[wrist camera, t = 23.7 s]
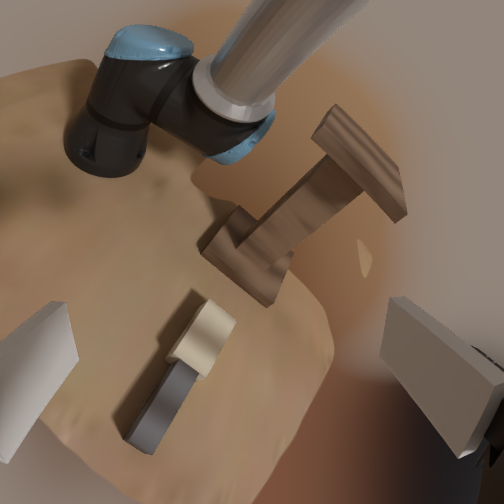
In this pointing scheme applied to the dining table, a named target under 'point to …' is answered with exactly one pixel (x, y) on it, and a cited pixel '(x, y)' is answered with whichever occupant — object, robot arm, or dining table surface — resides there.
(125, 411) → the dining table surface
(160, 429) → the bar
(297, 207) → the stand
